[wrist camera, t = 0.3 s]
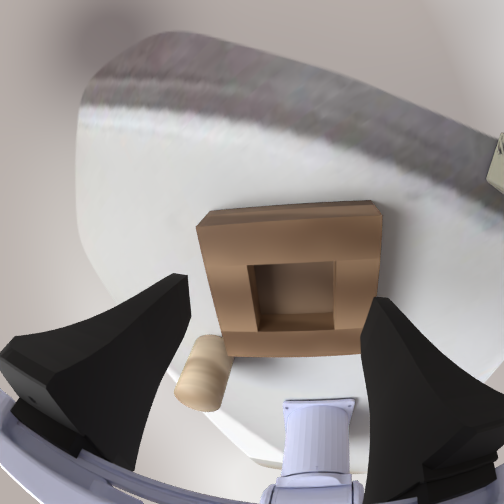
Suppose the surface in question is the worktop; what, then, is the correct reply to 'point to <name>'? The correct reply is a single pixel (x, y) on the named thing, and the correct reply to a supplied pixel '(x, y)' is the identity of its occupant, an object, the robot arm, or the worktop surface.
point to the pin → (205, 375)
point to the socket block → (292, 276)
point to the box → (497, 167)
